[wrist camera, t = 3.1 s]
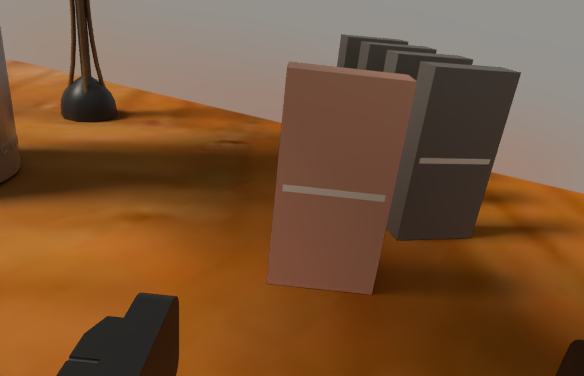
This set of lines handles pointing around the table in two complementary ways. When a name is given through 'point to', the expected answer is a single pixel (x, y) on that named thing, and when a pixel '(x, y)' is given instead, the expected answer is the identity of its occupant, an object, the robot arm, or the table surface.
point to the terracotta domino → (336, 175)
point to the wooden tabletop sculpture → (85, 75)
